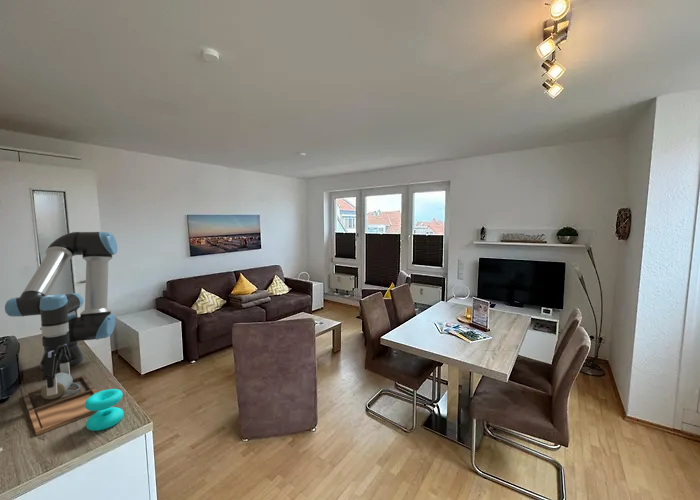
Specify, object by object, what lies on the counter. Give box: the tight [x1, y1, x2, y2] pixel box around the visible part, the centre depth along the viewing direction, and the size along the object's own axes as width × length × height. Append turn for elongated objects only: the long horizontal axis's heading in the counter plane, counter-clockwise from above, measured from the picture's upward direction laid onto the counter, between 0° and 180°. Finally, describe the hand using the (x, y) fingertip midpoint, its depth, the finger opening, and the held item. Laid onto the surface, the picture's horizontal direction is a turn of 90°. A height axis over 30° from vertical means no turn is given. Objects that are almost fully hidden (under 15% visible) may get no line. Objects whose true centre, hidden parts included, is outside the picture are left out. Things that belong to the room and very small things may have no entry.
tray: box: [22, 374, 99, 436], centre depth 113 cm, size 35×18×1 cm, turn 53°
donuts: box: [85, 388, 125, 432], centre depth 101 cm, size 10×10×10 cm
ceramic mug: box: [40, 372, 81, 401], centre depth 118 cm, size 11×8×8 cm
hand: (59, 386), depth 117 cm, fingers open, 13 cm apart
